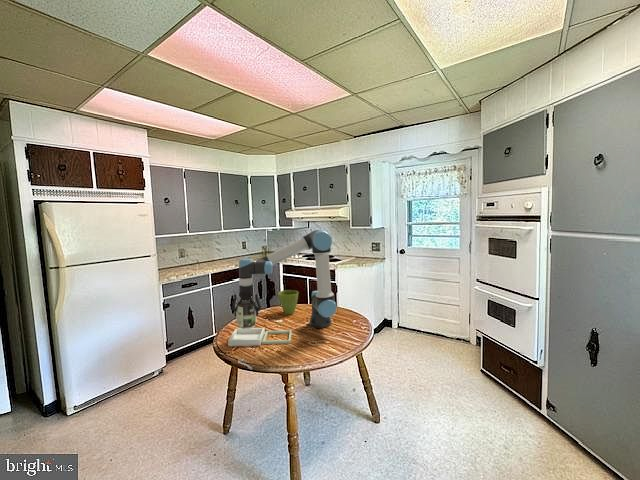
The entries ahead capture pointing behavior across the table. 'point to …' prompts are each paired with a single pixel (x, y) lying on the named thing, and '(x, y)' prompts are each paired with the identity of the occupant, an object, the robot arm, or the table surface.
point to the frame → (277, 340)
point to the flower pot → (288, 300)
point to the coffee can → (246, 315)
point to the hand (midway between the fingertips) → (246, 321)
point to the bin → (247, 337)
